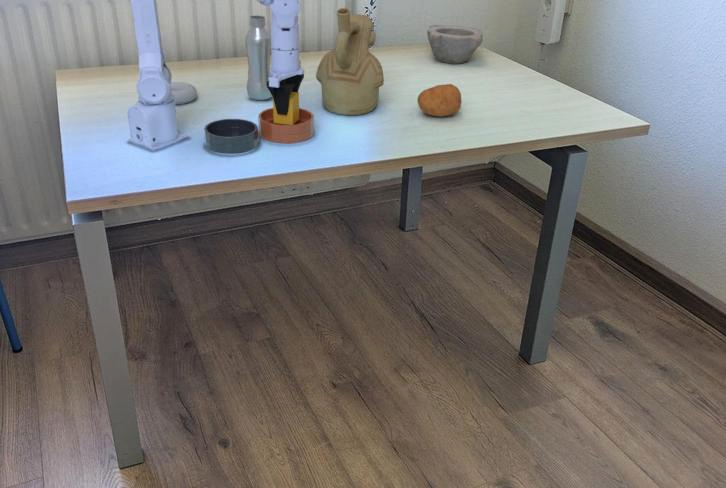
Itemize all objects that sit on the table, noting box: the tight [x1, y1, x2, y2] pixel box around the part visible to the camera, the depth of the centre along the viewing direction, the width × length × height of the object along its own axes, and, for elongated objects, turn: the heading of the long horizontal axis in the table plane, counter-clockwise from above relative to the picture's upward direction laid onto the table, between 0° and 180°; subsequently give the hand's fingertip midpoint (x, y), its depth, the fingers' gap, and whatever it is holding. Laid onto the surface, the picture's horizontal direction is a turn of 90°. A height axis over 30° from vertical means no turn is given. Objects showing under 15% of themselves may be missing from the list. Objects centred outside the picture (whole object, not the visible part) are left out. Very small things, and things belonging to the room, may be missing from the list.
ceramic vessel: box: [315, 7, 385, 116], centre depth 160 cm, size 17×20×25 cm
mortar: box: [427, 24, 484, 65], centre depth 206 cm, size 17×17×9 cm
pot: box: [203, 118, 259, 155], centre depth 141 cm, size 11×11×4 cm
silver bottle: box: [244, 15, 272, 101], centre depth 164 cm, size 6×7×20 cm
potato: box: [416, 83, 462, 118], centre depth 162 cm, size 9×11×8 cm
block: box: [272, 91, 300, 125], centre depth 145 cm, size 4×4×6 cm
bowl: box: [257, 107, 315, 144], centre depth 147 cm, size 12×12×4 cm
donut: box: [169, 81, 198, 105], centre depth 165 cm, size 10×4×10 cm
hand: (286, 110), depth 146 cm, fingers closed on block, 4 cm apart
